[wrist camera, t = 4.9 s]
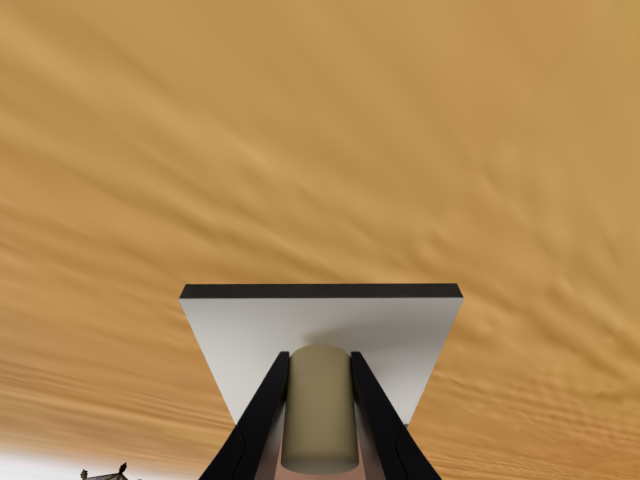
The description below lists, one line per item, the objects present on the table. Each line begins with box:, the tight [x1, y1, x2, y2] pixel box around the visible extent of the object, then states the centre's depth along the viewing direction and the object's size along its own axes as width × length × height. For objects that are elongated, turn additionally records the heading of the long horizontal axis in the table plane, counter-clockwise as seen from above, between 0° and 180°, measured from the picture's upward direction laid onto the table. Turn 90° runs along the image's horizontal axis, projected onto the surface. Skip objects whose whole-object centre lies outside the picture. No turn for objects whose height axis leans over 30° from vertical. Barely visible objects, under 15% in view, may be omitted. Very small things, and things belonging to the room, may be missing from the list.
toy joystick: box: [274, 344, 366, 480], centre depth 16 cm, size 17×6×4 cm, turn 179°
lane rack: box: [178, 283, 464, 428], centre depth 19 cm, size 25×11×3 cm, turn 0°
